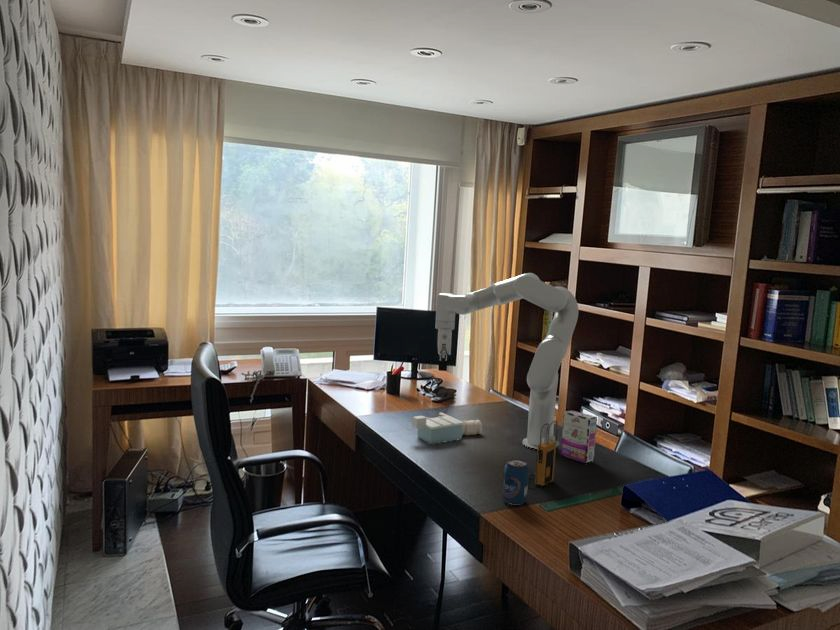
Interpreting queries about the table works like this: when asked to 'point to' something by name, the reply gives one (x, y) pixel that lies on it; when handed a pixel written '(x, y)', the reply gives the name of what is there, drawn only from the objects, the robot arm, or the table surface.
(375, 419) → the table surface
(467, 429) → the gavel
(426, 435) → the tub
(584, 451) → the candy bar box
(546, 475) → the multimeter
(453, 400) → the table surface
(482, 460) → the table surface
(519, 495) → the soda can
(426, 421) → the lid
